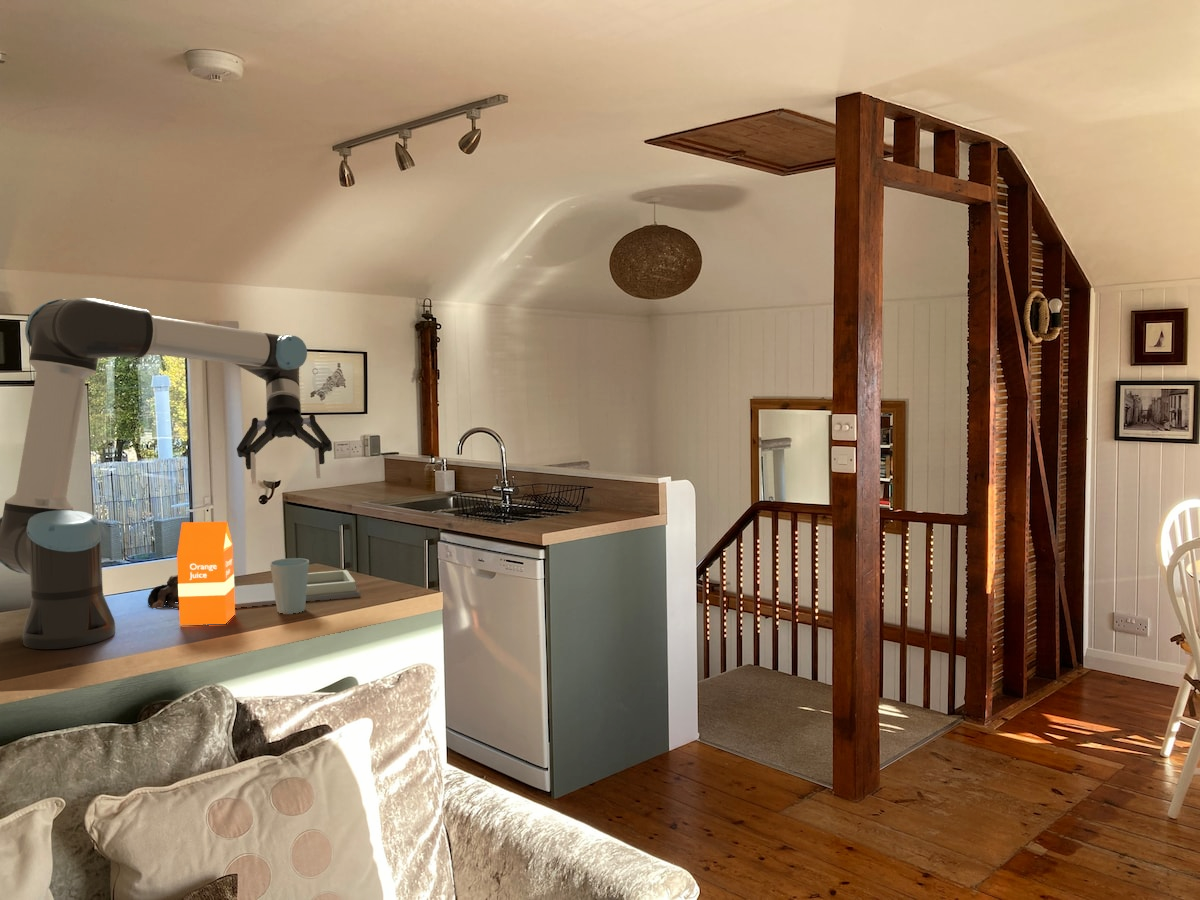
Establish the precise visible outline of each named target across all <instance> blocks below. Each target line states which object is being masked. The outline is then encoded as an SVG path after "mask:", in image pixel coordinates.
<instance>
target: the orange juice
mask: <svg viewBox="0 0 1200 900" xmlns="http://www.w3.org/2000/svg"><path fill="white" fill-rule="evenodd" d="M176 561H177V562H176V563H177V566H176V567H177V575H178V597H179V604H178V605H179V609H178V611H179V612H178V613H179V616H178V617H179V626H180V625H181V626H182V625H203V624H206V625H207V624H226V623H227V622H228V621H229V620H230V619H231V618H232V617H233V616H234V615H235V616H236V609H235V596H234V586H235V572H234V548H233V541H232V536H231V532H230V529H229V524H228V521H195V522H193V521H192V522H189V521H188V522H187V521H185V522H181V528H180V533H179V540H178V547H177V553H176ZM235 616H234V617H235ZM234 617H233V618H234ZM233 618H232V619H233ZM232 619H231V620H232ZM231 620H230V621H231ZM230 621H229V622H230ZM229 622H228V623H229ZM228 623H227V624H228ZM182 627H183V626H182Z"/></svg>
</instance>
